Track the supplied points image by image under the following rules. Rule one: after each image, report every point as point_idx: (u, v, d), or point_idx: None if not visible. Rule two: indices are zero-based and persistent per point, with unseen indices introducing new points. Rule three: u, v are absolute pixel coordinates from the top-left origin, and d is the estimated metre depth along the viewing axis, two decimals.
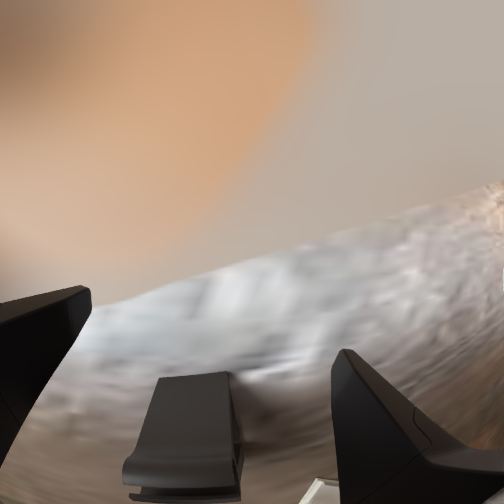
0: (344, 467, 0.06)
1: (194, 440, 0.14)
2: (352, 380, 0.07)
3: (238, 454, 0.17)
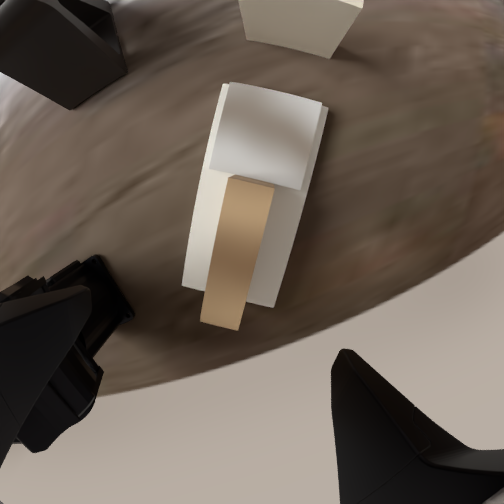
0: (344, 467, 0.06)
1: None
2: (352, 380, 0.07)
3: (90, 30, 0.11)
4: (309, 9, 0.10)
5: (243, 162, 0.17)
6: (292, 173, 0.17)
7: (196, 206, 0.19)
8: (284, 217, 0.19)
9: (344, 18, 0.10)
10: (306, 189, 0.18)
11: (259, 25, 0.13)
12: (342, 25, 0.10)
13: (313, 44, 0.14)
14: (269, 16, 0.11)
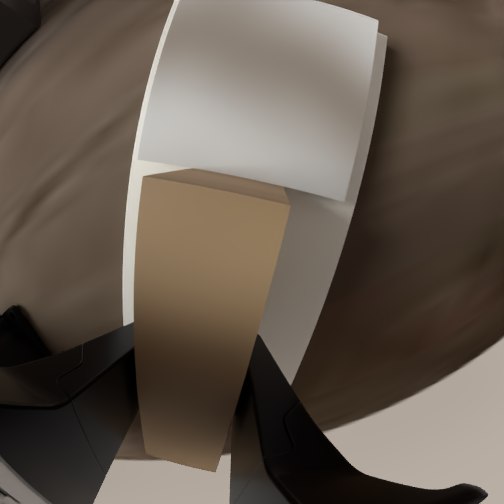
0: (233, 459, 0.06)
1: None
2: None
3: None
4: None
5: (210, 138, 0.07)
6: (326, 162, 0.07)
7: (127, 238, 0.09)
8: (307, 258, 0.09)
9: None
10: (353, 198, 0.08)
11: None
12: None
13: None
14: None
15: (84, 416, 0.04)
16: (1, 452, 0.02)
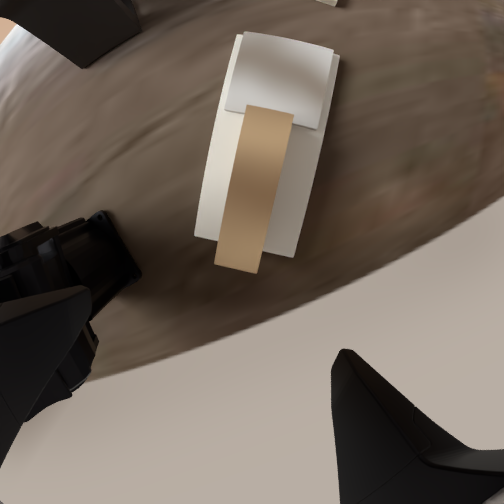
0: (344, 467, 0.06)
1: None
2: (352, 380, 0.07)
3: None
4: None
5: (259, 101, 0.16)
6: (308, 112, 0.16)
7: (211, 148, 0.18)
8: (302, 157, 0.18)
9: None
10: (323, 129, 0.17)
11: None
12: None
13: None
14: None
15: None
16: None
